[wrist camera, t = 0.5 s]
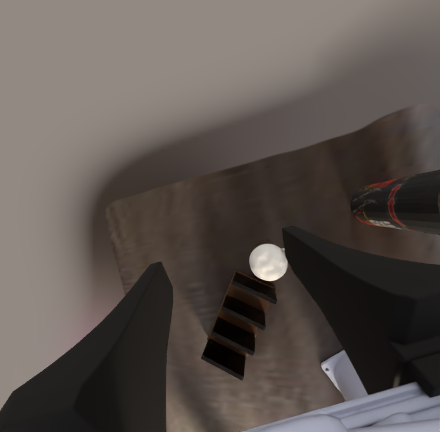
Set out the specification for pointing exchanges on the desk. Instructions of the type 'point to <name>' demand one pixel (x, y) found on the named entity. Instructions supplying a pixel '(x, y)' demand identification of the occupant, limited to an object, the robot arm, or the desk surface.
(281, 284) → the desk surface
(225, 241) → the desk surface
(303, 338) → the desk surface
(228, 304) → the letter rack
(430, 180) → the deodorant
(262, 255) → the milkshake
